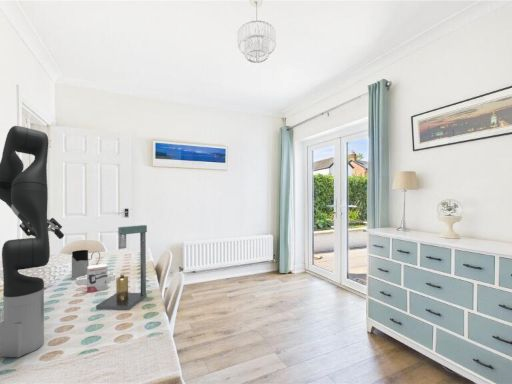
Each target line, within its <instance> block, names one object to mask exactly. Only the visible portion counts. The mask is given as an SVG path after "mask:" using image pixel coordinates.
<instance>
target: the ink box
mask: <svg viewBox="0 0 512 384" xmlns="http://www.w3.org/2000/svg"><path fill="white" fill-rule="evenodd" d="M107 272H108V264H107V263H100V264H97V265H96V264H95V265H88V267H87V285H86V289H87V291H86V293H87V294H88V293H94V292H100V291H105V290H108V289H109V288H108V287H109V286H108V282H107Z"/></svg>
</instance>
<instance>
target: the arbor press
mask: <svg viewBox="0 0 512 384" xmlns="http://www.w3.org/2000/svg"><path fill="white" fill-rule="evenodd" d="M147 227H148V226H147V225H146V224H141V225H129V226H118V228H117V229H118V231H117V232H118V233H117V234H118V235H117V236H118V249H119V250H122V249H127V235H133V234H139V235H140V237H139V239H140V240H139V241H140V245H139V247H140V248H139V249H140V250H139V251H140V252H139V253H140V259H139V260H140V262H139V263H140V292H128V299H127V300H124V301H117V297H116V293H114V294H113V295H112V296H109V297H108V298H106V299H105V300H103V301H102V302H100V303H97V304H96V305H95V309H96V310H106V311H107V310H112V311H113V310H117V311H130V310H131V309H133V308H134V307H135V306H136V305H137V304H139V303H140V302H141V301H143V300H144V299H145V298H147V282H146V281H147V262H146V261H147V258H146V257H147V256H146V254H147V253H146V251H147V250H146V249H147V248H146V247H147V246H146V243H147V242H146V238H147V237H146V233H147V232H148V230H147V229H148V228H147Z"/></svg>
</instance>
